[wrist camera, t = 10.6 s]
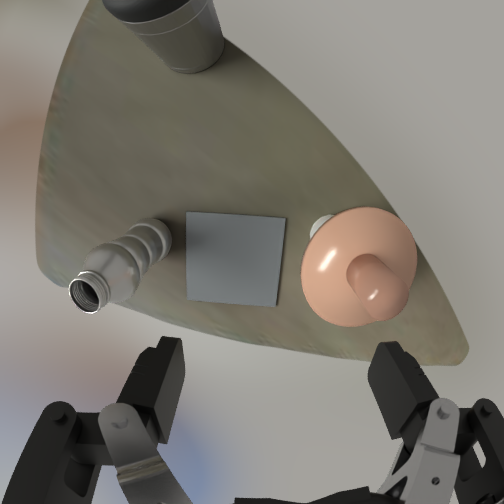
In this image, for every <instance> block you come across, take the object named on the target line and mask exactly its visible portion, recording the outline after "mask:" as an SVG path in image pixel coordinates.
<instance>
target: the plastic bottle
mask: <svg viewBox="0 0 504 504" xmlns="http://www.w3.org/2000/svg"><path fill="white" fill-rule="evenodd" d="M171 245H172V236H171V233H170V230H169V229H168V227H167V226H166V225H165V224H164V223H163V222H161V221H160V220H157V219H154V218H147V219H142V220H139V221H137V222H136V223H135V224H133V225H132V226H131V228H130V229H129V230H128V232H126V233H125V234H124V235H123V236H122V237H120V238H118V239H116V240H113V241H110V242H107V243H104V244H101V245H99V246H97V247H95V248H94V249H92V250H91V251H90V253H89V254H88V256H87V258H86V259H85V262H84V266H83V271H82V272H81V273H80V274H79V275H78V276H77V277H76V278H75V279H73V280H72V282H71V283H70V285H69V295H70V298H71V300H72V301H73V303H74V305H75V306H76V307H77V308H78V309H79V310H81V311H82V312H84V313H87V314H94V313H96V312H98V311H99V310H100V309H101V308H102V307H104V306H105V305H106V304H107V303H119V302H122V301H124V300H127V299H129V298H130V297H131V296H132V295H133V294H134V293H135V291H136V290H137V288H138V286H139V284H140V282H141V280H142V278H143V276H144V274H145V273H146V272H147V270H148V269H149V268H150V267H151V266H152V265H154V264H155V263H157V262H159V261H161V260H162V259H164V258H165V257H166V256H167V254H168V253H169V251H170V248H171Z"/></svg>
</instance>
